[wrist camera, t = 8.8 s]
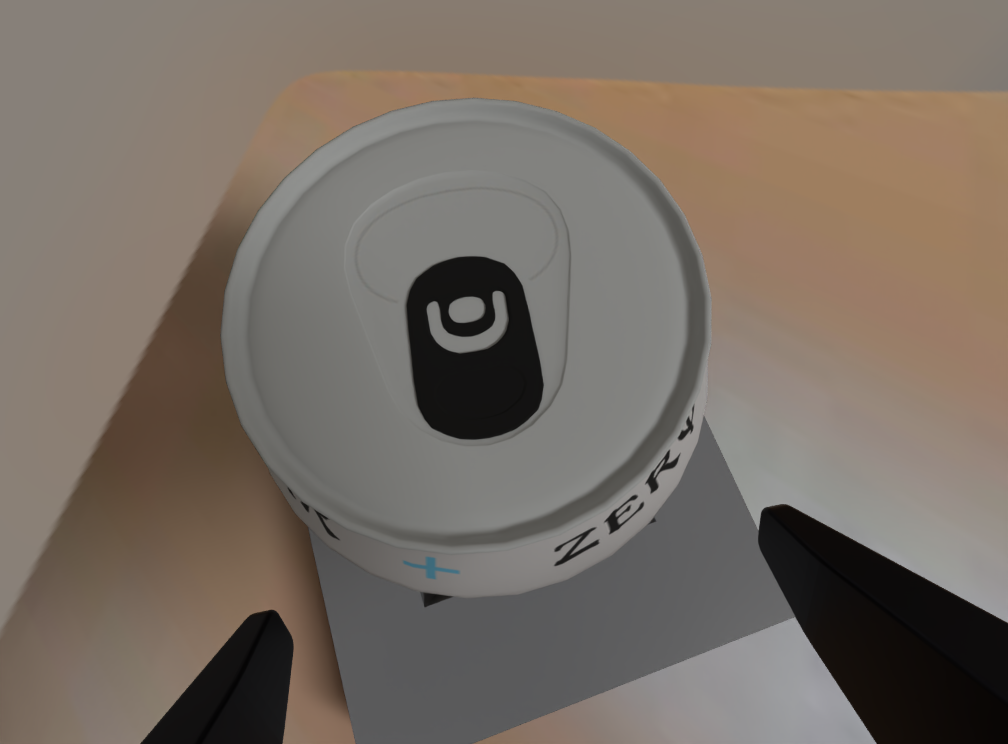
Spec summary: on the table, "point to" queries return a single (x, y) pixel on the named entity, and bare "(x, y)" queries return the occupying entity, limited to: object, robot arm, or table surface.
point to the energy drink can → (470, 345)
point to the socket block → (551, 622)
